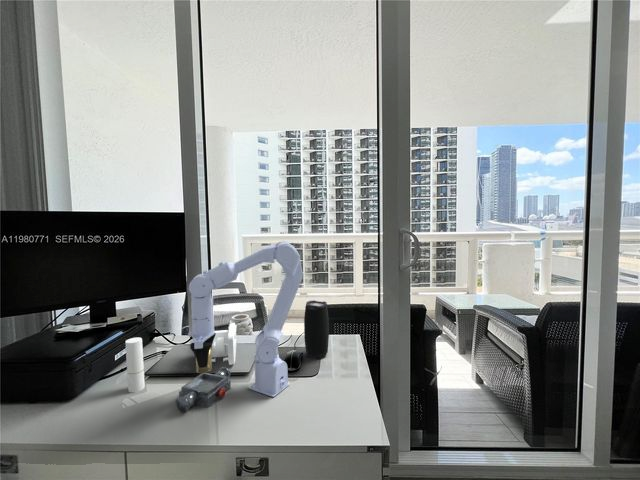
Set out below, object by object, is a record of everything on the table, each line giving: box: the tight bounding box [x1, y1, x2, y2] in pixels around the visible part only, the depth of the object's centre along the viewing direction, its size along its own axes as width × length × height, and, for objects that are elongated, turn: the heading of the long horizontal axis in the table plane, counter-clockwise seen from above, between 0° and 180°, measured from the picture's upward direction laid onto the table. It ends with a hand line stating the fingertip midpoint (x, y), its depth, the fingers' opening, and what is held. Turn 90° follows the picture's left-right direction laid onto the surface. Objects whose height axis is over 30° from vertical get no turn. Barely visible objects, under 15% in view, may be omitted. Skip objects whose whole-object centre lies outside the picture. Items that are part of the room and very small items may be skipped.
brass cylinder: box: [195, 347, 213, 374], centre depth 92 cm, size 4×4×6 cm
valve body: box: [175, 366, 232, 414], centre depth 92 cm, size 18×11×4 cm, turn 160°
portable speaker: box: [303, 300, 330, 360], centre depth 117 cm, size 9×9×20 cm
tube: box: [125, 337, 146, 393], centre depth 96 cm, size 4×4×15 cm
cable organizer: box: [211, 322, 238, 366], centre depth 114 cm, size 15×11×12 cm
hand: (204, 362), depth 92 cm, fingers closed on brass cylinder, 4 cm apart
